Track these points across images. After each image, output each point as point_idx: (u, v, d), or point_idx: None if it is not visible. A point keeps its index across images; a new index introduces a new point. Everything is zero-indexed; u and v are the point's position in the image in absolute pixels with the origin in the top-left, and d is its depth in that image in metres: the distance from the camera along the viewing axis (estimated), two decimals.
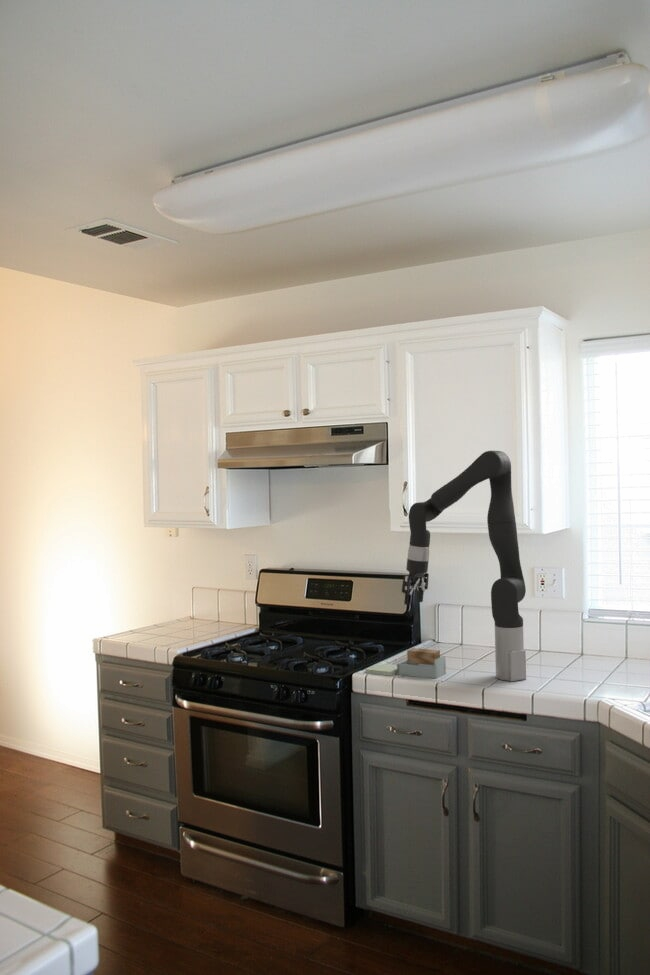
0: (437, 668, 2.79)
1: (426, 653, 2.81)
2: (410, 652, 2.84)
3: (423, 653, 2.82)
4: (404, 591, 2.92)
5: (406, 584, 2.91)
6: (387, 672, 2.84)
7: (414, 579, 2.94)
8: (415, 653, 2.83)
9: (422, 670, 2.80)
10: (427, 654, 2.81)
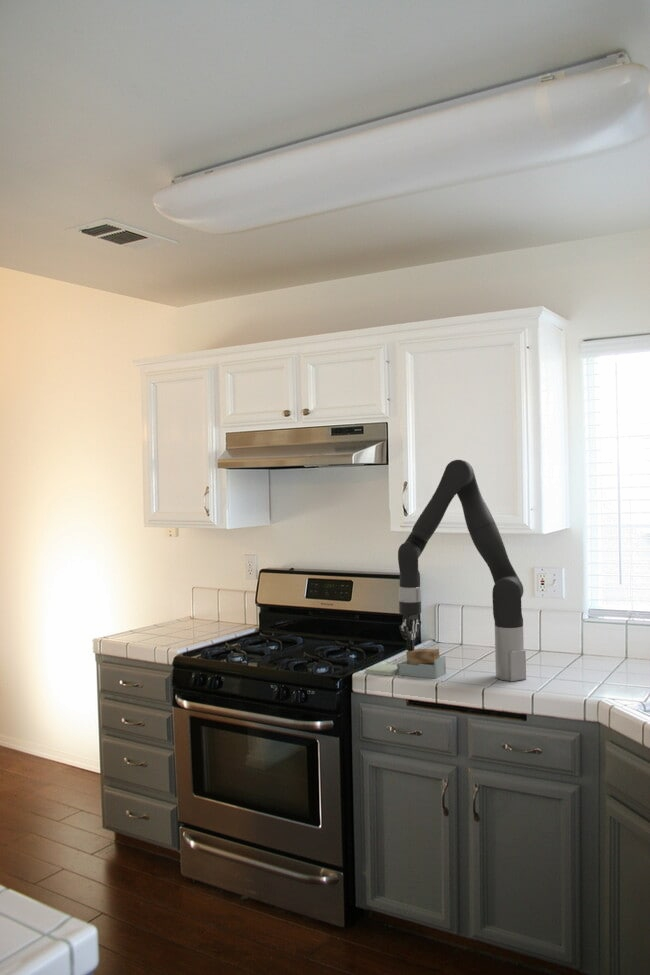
0: (437, 668, 2.79)
1: (425, 652, 2.81)
2: (409, 653, 2.84)
3: (422, 652, 2.82)
4: (406, 638, 2.84)
5: (405, 633, 2.82)
6: (387, 672, 2.84)
7: (409, 625, 2.84)
8: (414, 653, 2.83)
9: (422, 670, 2.80)
10: (426, 653, 2.81)
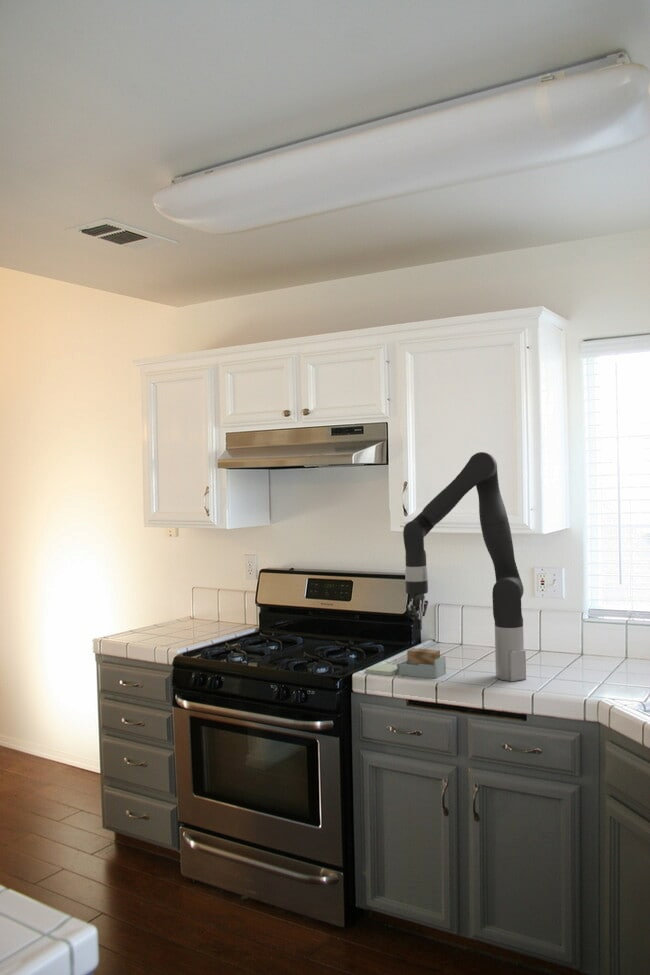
0: (437, 668, 2.79)
1: (426, 653, 2.81)
2: (410, 652, 2.84)
3: (423, 653, 2.82)
4: (413, 617, 2.83)
5: (412, 612, 2.81)
6: (387, 672, 2.84)
7: (416, 604, 2.82)
8: (415, 653, 2.83)
9: (422, 670, 2.80)
10: (427, 654, 2.81)
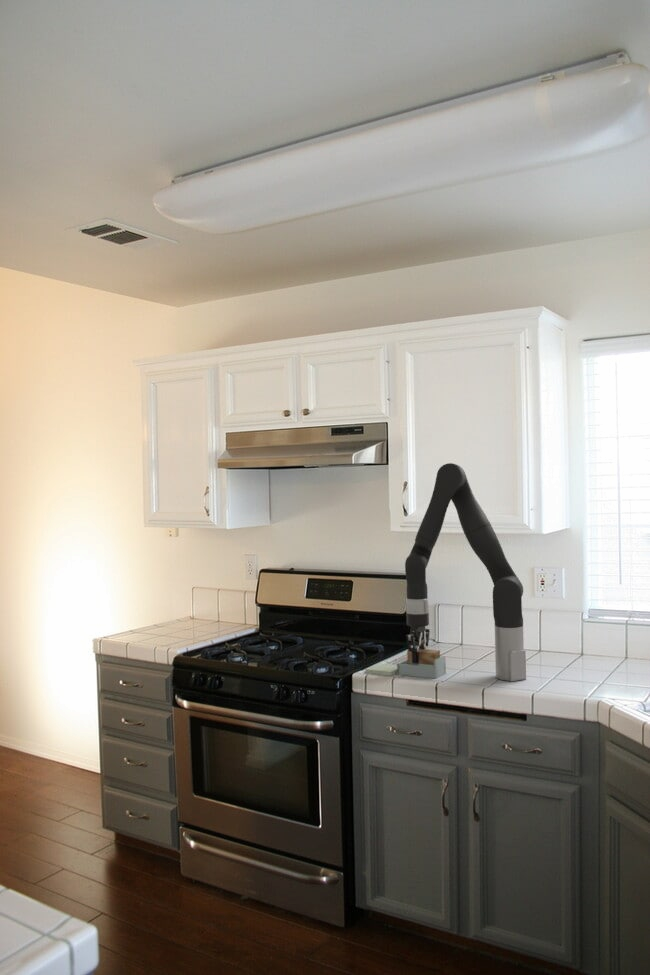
0: (437, 668, 2.79)
1: (426, 653, 2.81)
2: (410, 652, 2.84)
3: (423, 653, 2.82)
4: (411, 650, 2.81)
5: (411, 643, 2.80)
6: (387, 672, 2.84)
7: (417, 635, 2.82)
8: None
9: (422, 670, 2.80)
10: (427, 654, 2.81)
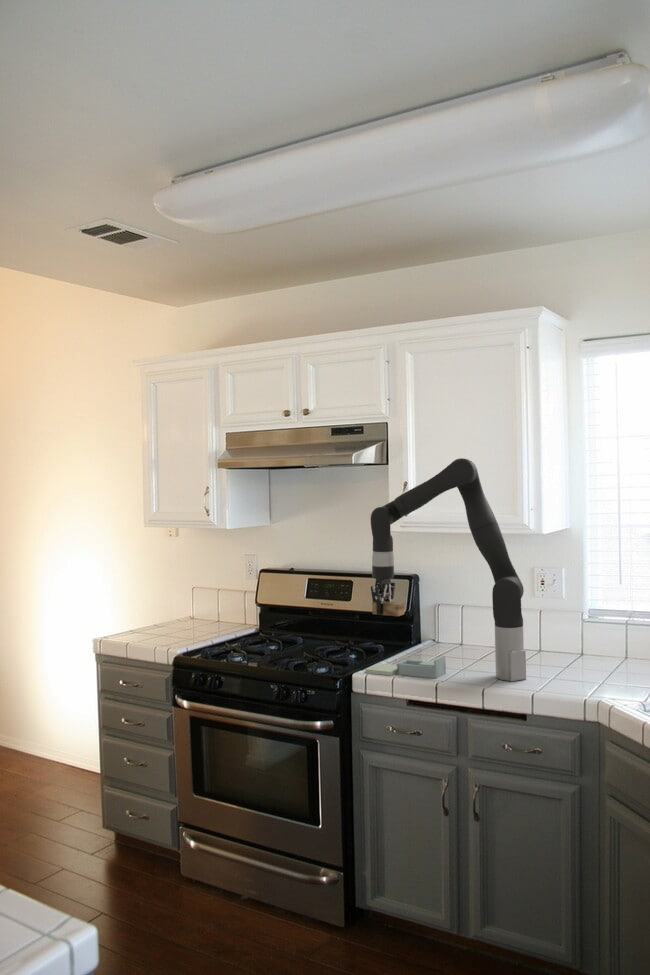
0: (437, 668, 2.79)
1: (390, 605, 2.86)
2: (375, 604, 2.89)
3: (387, 605, 2.87)
4: (375, 601, 2.86)
5: (375, 594, 2.85)
6: (387, 672, 2.84)
7: (381, 587, 2.87)
8: None
9: (422, 670, 2.80)
10: (391, 606, 2.86)
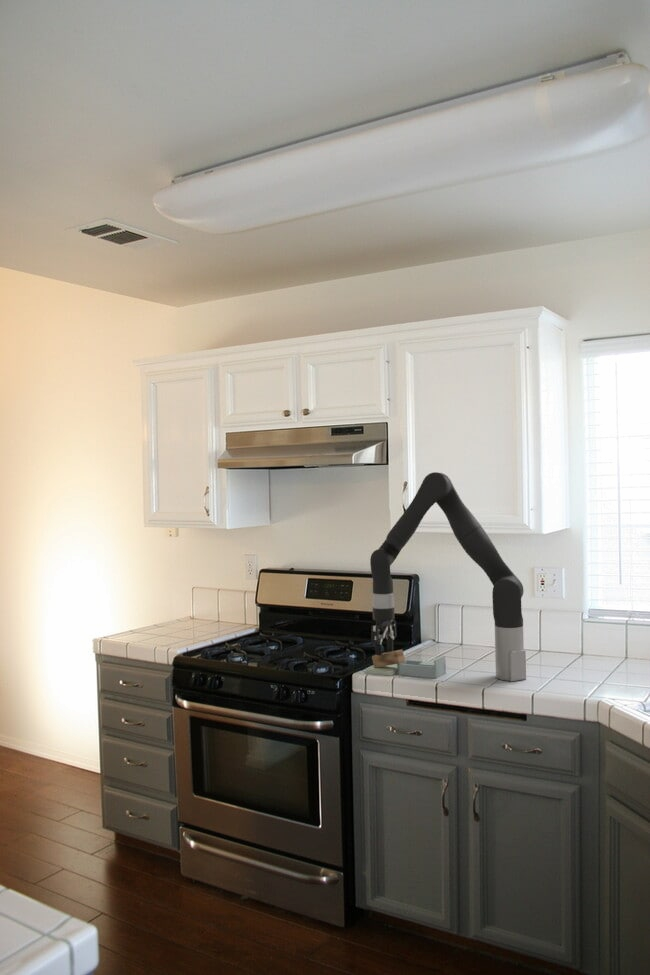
0: (437, 668, 2.79)
1: (389, 654, 2.87)
2: (374, 657, 2.90)
3: (386, 655, 2.87)
4: (374, 641, 2.84)
5: (375, 634, 2.84)
6: (387, 672, 2.84)
7: (382, 628, 2.87)
8: (379, 656, 2.89)
9: (422, 670, 2.80)
10: (390, 655, 2.87)
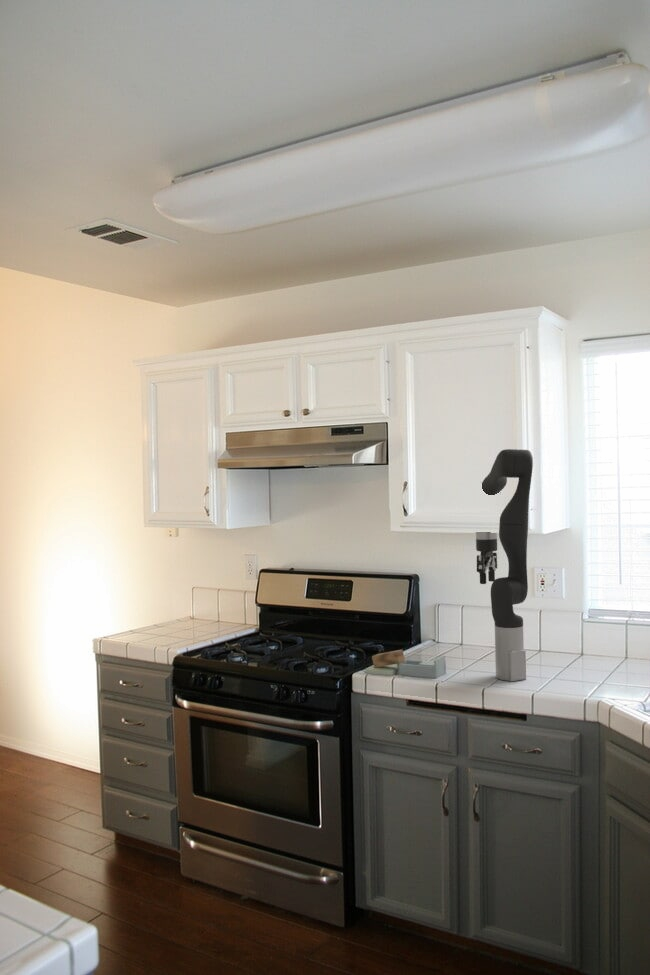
0: (437, 668, 2.79)
1: (389, 654, 2.87)
2: (374, 657, 2.90)
3: (386, 655, 2.87)
4: (479, 570, 2.97)
5: (480, 563, 2.97)
6: (387, 672, 2.84)
7: (486, 558, 3.00)
8: (379, 656, 2.89)
9: (422, 670, 2.80)
10: (390, 654, 2.87)
